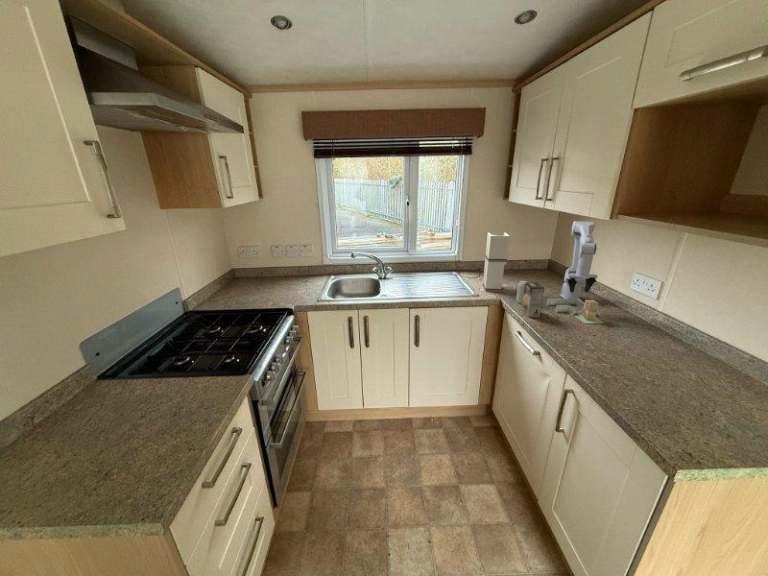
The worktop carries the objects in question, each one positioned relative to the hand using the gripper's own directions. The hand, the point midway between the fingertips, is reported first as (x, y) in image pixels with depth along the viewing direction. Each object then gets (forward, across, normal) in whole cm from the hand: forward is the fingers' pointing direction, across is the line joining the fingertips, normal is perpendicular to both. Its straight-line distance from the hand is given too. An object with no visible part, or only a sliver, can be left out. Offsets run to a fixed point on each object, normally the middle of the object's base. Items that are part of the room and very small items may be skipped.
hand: (578, 291), depth 158 cm
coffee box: (+11, -25, -3) cm, 27 cm away
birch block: (+10, 0, -11) cm, 15 cm away
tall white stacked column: (+11, -32, +35) cm, 49 cm away
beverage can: (+11, -23, +12) cm, 28 cm away
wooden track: (+10, -3, +1) cm, 11 cm away
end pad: (+10, 0, -12) cm, 16 cm away
